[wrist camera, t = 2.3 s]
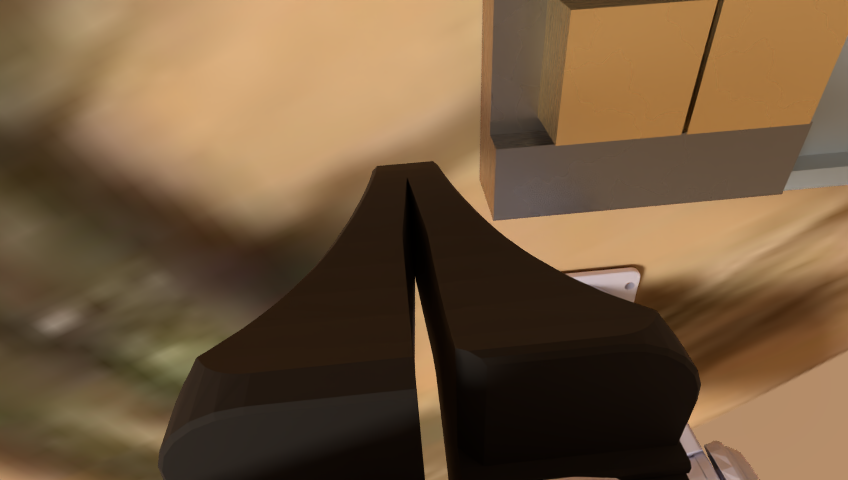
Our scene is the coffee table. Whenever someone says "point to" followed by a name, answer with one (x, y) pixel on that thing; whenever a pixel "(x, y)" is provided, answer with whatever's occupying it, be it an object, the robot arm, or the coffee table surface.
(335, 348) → the robot arm
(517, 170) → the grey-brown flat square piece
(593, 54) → the block
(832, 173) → the tray
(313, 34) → the coffee table surface
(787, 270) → the coffee table surface
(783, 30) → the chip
